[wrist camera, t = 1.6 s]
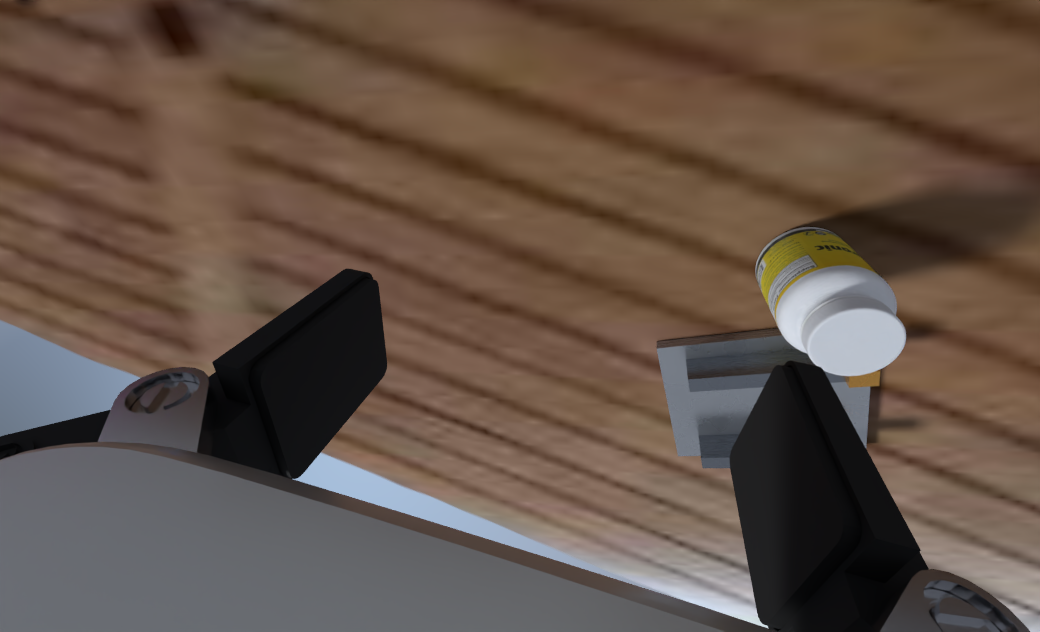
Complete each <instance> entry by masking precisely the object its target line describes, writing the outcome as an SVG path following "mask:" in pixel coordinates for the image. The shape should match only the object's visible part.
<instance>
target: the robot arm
mask: <svg viewBox="0 0 1040 632" xmlns="http://www.w3.org/2000/svg"><path fill="white" fill-rule="evenodd" d="M212 363H213V365H214V368H215V370H216V372H215V373H214V374H212V375H211V376H210V377H208V376H207V375H206V373H205V372H204V371H202V370H199V369H196V368H189V367H179V368H170V369H166V370H162V371H158V372H155V373H152V374H150V375H147V376H145V377H142V378H140V379H139V380H137V381H135V382H133V383H132V384H130V385H129V386H127V387H126V388H125V389H124V390H123V391H122V392H120V394H119V395H118V397H117V398H116V400H115V401H114V403H113V406H112V408H111V410H108V411H104V412H100V413H96V414H91V415H87V416H83V417H79V418H75V419H70V420H66V421H62V422H58V423H54V424H50V425H46V426H41V427H37V428H33V429H29V430H25V431H21V432H17V433H13V434H8V435H4V436H1V437H0V632H1030V631H1029V630H1028V628H1027V627H1026V626H1025V625H1024V624H1023V623H1022V622H1021V621H1020V620H1019V619H1018V618H1017V617H1016V616H1015V615H1014V614H1013V613H1012V612H1011V611H1010V610H1009V609H1008V608H1007V607H1006V606H1005V605H1003V604H1002V603H1001V602H999V601H998V600H997V599H996V598H994V597H993V596H992V595H991V594H989V593H988V592H986V591H985V590H983V589H981V588H980V587H978V586H977V585H975V584H973V583H972V582H970V581H968V580H966V579H964V578H961V577H959V576H957V575H954V574H952V573H950V572H945V571H940V570H935V569H930V570H929V569H928V567H927V565H926V563H925V561H924V559H923V557H922V556H921V554H920V551H921V550H920V548H919V546H918V544H917V543H916V541H915V539H914V537H913V535H912V533H911V531H910V530H909V528H908V526H907V524H906V522H905V520H904V518H903V517H902V515H901V513H900V511H899V509H898V507H897V505H896V504H895V502H894V500H893V498H892V496H891V494H890V492H889V491H888V489H887V487H886V485H885V483H884V481H883V479H882V478H881V476H880V474H879V472H878V470H877V468H876V467H875V465H874V463H873V461H872V459H871V457H870V455H869V454H868V452H867V450H866V448H865V446H864V444H863V442H862V441H861V439H860V437H859V435H858V433H857V431H856V429H855V428H854V426H853V424H852V422H851V420H850V418H849V416H848V415H847V413H846V411H845V409H844V407H843V405H842V403H841V402H840V400H839V398H838V396H837V394H836V392H835V390H834V389H833V387H832V385H831V383H830V381H829V379H828V377H827V376H826V374H825V372H824V370H823V369H822V368H821V367H819V366H815V365H810V364H806V363H801V362H796V361H791V360H790V361H787V362H786V363H785V364H784V366H782V365H776V366H775V367H774V369H773V370H772V372H771V374H770V376H769V378H768V380H767V382H766V384H765V386H764V388H763V390H762V392H761V393H760V395H759V397H758V399H757V401H756V403H755V405H754V407H753V409H752V411H751V413H750V415H749V417H748V418H747V420H746V422H745V424H744V426H743V428H742V430H741V432H740V434H739V436H738V438H737V440H736V442H735V443H734V445H733V447H732V450H731V453H730V469H731V475H732V480H733V485H734V491H735V496H736V501H737V507H738V512H739V517H740V523H741V528H742V533H743V539H744V544H745V549H746V555H747V560H748V565H749V571H750V576H751V581H752V587H753V592H754V598H755V603H756V608H757V613H758V617H759V619H760V621H761V622H762V624H764V625H768V628H769V629H768V628H765V627H762V626H759V625H756V624H753V623H750V622H747V621H744V620H741V619H738V618H735V617H732V616H729V615H726V614H723V613H720V612H717V611H714V610H711V609H708V608H705V607H701V606H698V605H695V604H692V603H689V602H686V601H683V600H680V599H676V598H673V597H670V596H667V595H664V594H661V593H657V592H654V591H651V590H648V589H645V588H641V587H638V586H635V585H632V584H629V583H626V582H623V581H619V580H616V579H613V578H610V577H607V576H604V575H600V574H597V573H594V572H591V571H588V570H585V569H581V568H578V567H575V566H571V565H569V564H566V563H562V562H559V561H556V560H553V559H550V558H546V557H543V556H540V555H537V554H533V553H530V552H527V551H524V550H521V549H517V548H514V547H511V546H508V545H505V544H501V543H498V542H495V541H492V540H489V539H485V538H482V537H479V536H475V535H472V534H469V533H466V532H463V531H459V530H456V529H453V528H450V527H447V526H443V525H440V524H437V523H434V522H430V521H427V520H424V519H421V518H417V517H414V516H411V515H408V514H404V513H401V512H398V511H395V510H391V509H388V508H385V507H381V506H378V505H375V504H372V503H368V502H365V501H362V500H358V499H355V498H352V497H349V496H345V495H342V494H339V493H336V492H332V491H329V490H326V489H322V488H319V487H316V486H312V485H309V484H305V483H302V482H299V481H296V480H293V479H296V478H298V477H300V476H301V475H302V474H303V473H304V472H305V470H306V469H307V468H308V467H309V465H310V464H311V463H312V462H313V461H314V460H315V458H316V457H317V456H318V455H319V454H320V452H321V451H322V450H323V449H324V448H325V446H326V445H327V444H328V443H329V442H330V440H331V439H332V438H333V437H334V436H335V434H336V433H337V432H338V431H339V430H340V428H341V427H342V426H343V425H344V424H345V422H346V421H347V420H348V419H349V418H350V416H351V415H352V414H353V413H354V412H355V410H356V409H357V408H358V407H359V406H360V404H361V403H362V402H363V401H364V400H365V398H366V397H367V396H368V395H369V394H370V392H371V391H372V390H373V389H374V387H375V386H376V385H377V384H378V383H379V381H380V380H381V379H382V378H383V376H384V375H385V372H386V369H387V358H386V349H385V340H384V331H383V322H382V313H381V304H380V295H379V286H378V283H377V281H376V280H373V277H372V275H371V274H370V273H367V272H362V271H357V270H353V269H345V270H343V271H341V272H340V273H339V274H337V275H336V276H334V277H333V278H331V279H330V280H329V281H327V282H326V283H324V284H323V285H321V286H320V287H319V288H317V289H316V290H314V291H313V292H312V293H310V294H309V295H307V296H306V297H304V298H303V299H302V300H300V301H299V302H297V303H296V304H294V305H293V306H292V307H290V308H289V309H287V310H286V311H284V312H283V313H282V314H280V315H279V316H277V317H276V318H275V319H273V320H272V321H270V322H269V323H267V324H266V325H265V326H263V327H262V328H260V329H259V330H257V331H256V332H255V333H253V334H252V335H250V336H249V337H247V338H246V339H245V340H243V341H242V342H240V343H239V344H238V345H236V346H235V347H233V348H232V349H230V350H229V351H228V352H226V353H225V354H223V355H222V356H220V357H219V358H218V359H216V360H215V361H213V362H212Z"/></svg>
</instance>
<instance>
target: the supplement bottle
mask: <svg viewBox="0 0 1040 632" xmlns="http://www.w3.org/2000/svg"><path fill="white" fill-rule="evenodd" d="M755 271H756V278H757V282H758V284H759V287H760V289H761V291H762V293H763V296H764V298H765V300H766V302H767V304H768V306H769V308H770V310H771V313H772V315H773V317H774V319H775V321H776V323H777V326H778V328H779V330H780V332H781V334H782V335H783V337H784V338H785V339H786V340H787V342H788V343H790V344H791V345H792V346H793V347H795V348H796V349H798V350H800V351H802V352H804V353H807V354H808V356H809V357H810V359H811V360H812V362H813V363H814V364H815V365H816V366H819V367H821V368H822V369H823V370H824V371H826V372H828V373H831V374H835V375H841V376H859V375H864V374H868V373H872V372H875V371H877V370H879V369H882V368H884V367H885V366H887V365H889V364H890V363H891V362H892V361H894V360H895V359H896V358H897V357H898V356H899V354H900V353H901V352H902V350H903V348H904V346H905V342H906V331H905V328H904V326H903V324H902V322H901V321H900V320H899V318H898V317H897V316H896V310H897V303H896V298H895V295H894V293H893V291H892V289H891V287H890V286H889V285H888V283H887V282H886V281H885V280H884V279H883V278H882V277H881V276H880V275H879V274H878V273H877V272H876V271H874V270H873V269H872V268H871V267H870V266H869V265H868V264H867V263H866V262H865V261H864V260H863V259H862V258H861V257H860V256H859V255H858V254H857V253H856V252H855V251H854V250H853V249H852V248H851V247H850V246H849V245H848V244H847V243H846V242H845V241H844V240H843V239H841V238H840V237H839V236H838V235H836V234H835V233H833V232H831V231H829V230H826V229H822V228H816V227H802V228H797V229H793V230H790V231H787V232H785V233H783V234H781V235H779V236H778V237H776V238H775V239H773V240H772V241H771V242H770V243H769V244H768V245H767V246H766V247H765V248H764V249H763V250H762V252H761V253H760V255H759V257H758V260H757V263H756V270H755Z"/></svg>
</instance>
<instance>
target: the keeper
mask: <svg viewBox="0 0 1040 632" xmlns="http://www.w3.org/2000/svg"><path fill="white" fill-rule="evenodd" d="M657 352H658V357H659V362H660V367H661V372H662V377H663V382H664V387H665V392H666V397H667V402H668V407H669V412H670V417H671V422H672V427H673V432H674V437H675V442H676V447H677V452H678V456H701V460H702V466H703V468H730V453H731V450H732V447H733V445H734V443H735V442H736V440H737V438H738V436H739V434H740V432H741V430H742V428H743V426H744V424H745V422H746V420H747V418H748V417H749V415H750V413H751V411H752V409H753V407H754V405H755V403H756V401H757V399H758V397H759V395H760V393H761V392H762V390H763V388H764V386H765V384H766V382H767V380H768V378H769V376H770V374H771V372H772V370H773V369H774V367H775V366H776V365H782V366H784V364H785V363H786V362H787V361H790V360H791V361H796V362H801V363H806V364H810V365H815V364H814V363H813V362H812V360H811V359H810V357H809V356H808V354H807V353H804V352H802V351H800V350H798V349H796V348H795V347H793V346H792V345H791V344H790V343H788V342H787V340H786V339H785V338H784V337H783V335H782V334H781V332H780V330H779V328H775V329H766V330H757V331H748V332H738V333H729V334H720V335H711V336H702V337H693V338H684V339H675V340H665V341H657ZM815 366H816V365H815ZM824 372H825V374H826V376H827V377H828V379H829V381H830V383H831V385H832V387H833V389H834V390H835V392H836V394H837V396H838V398H839V400H840V402H841V403H842V405H843V407H844V409H845V411H846V413H847V415H848V416H849V418H850V420H851V422H852V424H853V426H854V428H855V429H856V431H857V433H858V435H859V437H860V439H861V441H862V442H863V444H864V446H865V448H866V443H867V428H868V413H869V399H870V386H879V382H880V370H877V371H875V372H872V373H868V374H864V375H859V376H841V375H835V374H831V373H828V372H826V371H824Z"/></svg>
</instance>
